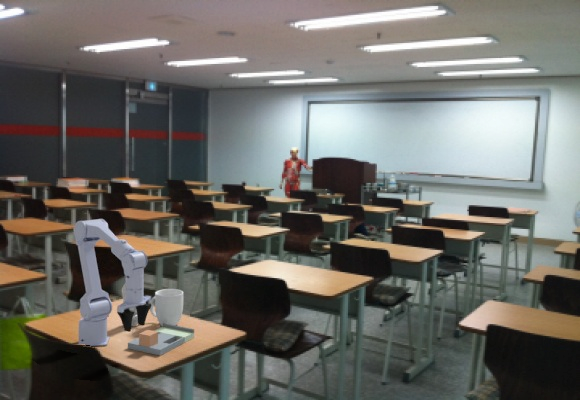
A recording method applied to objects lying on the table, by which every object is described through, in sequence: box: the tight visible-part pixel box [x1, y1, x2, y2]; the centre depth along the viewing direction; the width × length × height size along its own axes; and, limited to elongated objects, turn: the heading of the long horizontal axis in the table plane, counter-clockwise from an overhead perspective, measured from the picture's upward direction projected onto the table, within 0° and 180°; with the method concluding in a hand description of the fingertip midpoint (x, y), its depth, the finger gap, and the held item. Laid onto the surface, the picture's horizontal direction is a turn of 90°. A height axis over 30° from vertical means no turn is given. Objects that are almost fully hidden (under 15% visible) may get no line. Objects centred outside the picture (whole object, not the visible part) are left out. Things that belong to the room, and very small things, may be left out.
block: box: [138, 329, 158, 347], centre depth 186 cm, size 4×4×4 cm
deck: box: [127, 323, 195, 356], centre depth 193 cm, size 20×14×3 cm
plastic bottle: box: [121, 278, 138, 328], centre depth 210 cm, size 6×7×20 cm
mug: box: [149, 288, 184, 327], centre depth 214 cm, size 15×11×13 cm
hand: (134, 327), depth 179 cm, fingers open, 6 cm apart
